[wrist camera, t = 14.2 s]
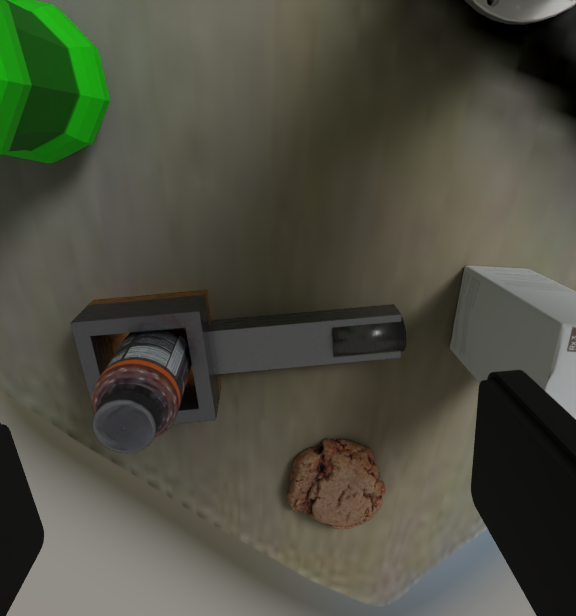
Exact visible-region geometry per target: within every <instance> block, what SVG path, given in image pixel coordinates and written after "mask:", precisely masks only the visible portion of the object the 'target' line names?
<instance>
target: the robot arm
mask: <svg viewBox="0 0 576 616" xmlns="http://www.w3.org/2000/svg"><path fill="white" fill-rule="evenodd" d="M465 1H466V2H467V3H468V4H469V5H470V6H471V7H472V8H474V9H475V10H476V11H477V12H478V13H480V14H482V15H484V16H486V17H487V18H489V19H491V20H494V21H498V22H502V23H505V24H520V25H524V24H530V23H535V22H540V21H543V20H545V19H548V18H551V17H554V16H556V15H558V14H560V13H562V12H564V11H566V10H568V9H570V8H572V7H573V6H574V5H576V0H490V2H491V3H490V5H488V4H487V0H465ZM471 493H472V498H473V502H474V505H475V507H476V509H477V510H478V512H479V514H480V516H481V518H482V519H483V521H484V523H485V525H486V526H487V528H488V530H489V532H490V534H491V535H492V537H493V539H494V541H495V542H496V544H497V546H498V548H499V550H500V551H501V553H502V555H503V556H504V558H505V560H506V562H507V564H508V565H509V567H510V569H511V571H512V572H513V574H514V576H515V578H516V580H517V581H518V583H519V585H520V587H521V589H522V590H523V592H524V594H525V596H526V597H527V599H528V601H529V603H530V605H531V606H532V608H533V610H534V612H535V613H536V615H537V616H576V419H575V418H574V417H573V416H572V415H570V414H569V413H568V412H567V411H566V410H565V409H564V408H563V407H562V406H561V405H560V404H559V403H558V402H556V401H555V400H554V399H553V398H552V397H551V396H550V395H549V394H548V393H547V392H546V391H545V390H543V389H542V388H541V387H540V386H539V385H538V384H537V383H536V382H535V381H534V380H533V379H532V378H531V377H529V376H528V375H527V374H526V373H525V372H524V371H522V370H510V371H499V372H491V373H490V374H489V375H488V377H487V380H482V381H481V382H480V385H479V393H478V405H477V418H476V430H475V443H474V456H473V468H472V481H471ZM43 541H44V530H43V526H42V523H41V520H40V517H39V514H38V511H37V508H36V505H35V502H34V499H33V497H32V494H31V491H30V488H29V485H28V482H27V479H26V476H25V473H24V470H23V467H22V464H21V461H20V458H19V456H18V453H17V450H16V447H15V444H14V441H13V438H12V435H11V432H10V430H9V428H8V427H7V426H6V425H3V424H2V425H1V423H0V616H6V614H7V612H8V611H9V609H10V607H11V605H12V603H13V601H14V599H15V597H16V595H17V593H18V592H19V590H20V588H21V586H22V584H23V582H24V580H25V578H26V577H27V575H28V573H29V571H30V569H31V567H32V565H33V563H34V562H35V560H36V558H37V556H38V554H39V552H40V550H41V548H42V545H43Z"/></svg>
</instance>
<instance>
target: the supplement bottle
mask: <svg viewBox="0 0 576 616" xmlns="http://www.w3.org/2000/svg"><path fill="white" fill-rule="evenodd" d="M191 366H192V363H191V357H190V351H189V345H188V339H187V337H186V336H185V334H184V333H183V332H182V331H180V330H179V329H178V328H176V329H165V330H153V331H142V332H131V333H130V334H129V335H128V336H127V337H126V338H125V340H124V341H123V343H122V344H121V346H120V347H119V349H118V350H117V352H116V353H115V355H114V356H113V358H112V359H111V361H110V362H109V364H108V365H107V367H106V368H105V370H104V371H103V373H102V374H101V376H100V378H99V379H98V381H97V382H96V384H95V387H94V389H93V392H92V398H91V404H92V410H93V413H94V417H93V422H92V427H93V431H94V434H95V436H96V438H97V439H98V440H99V441H100V443H101V444H103V445H104V446H105V447H107V448H109V449H111V450H113V451H116V452H121V453H133V452H137V451H139V450H142V449H144V448H145V447H147V446H148V445H149V444H150V443H151V442H152V440H153V438H154V437H157V436H158V435H160V434H162V433H163V432H165V431H166V430H167V429H168V428H169V427H170V426H171V425H172V423H173V421H174V420H175V418H176V416H177V413H178V409H179V406H180V403H181V400H182V396H183V393H184V389H185V386H186V383H187V379H188V376H189V373H190V370H191Z"/></svg>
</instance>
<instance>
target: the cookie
mask: <svg viewBox="0 0 576 616" xmlns="http://www.w3.org/2000/svg"><path fill="white" fill-rule="evenodd" d="M379 476H380V474H379V472H378V467H377V466H376V465H375V459H374V456H373V453H372V451H371V450H370V449H369V448H367V447H364V446H362V445H360V444H356V443H354V442H351V441H347V440H338V441H337V439H336V440H333V439H331V440H328V439H326V438H325V439H324V440H322V442H321V445H320V446H317V445H315V447H310V448H307V449H305V450H304V451H302V452H301V453H300V454H299V455H298V456H297V457H296V459H295V460H294V462H293V467H292V472H291V474H290V483H289V490H288V493H287V499H288V501H289V503H290V504H291V507H292V509H293V510H294V511H303V512H305V513H306V514H307V515H309V514H310V516H311V517H313V518H314V519H316V520H317V521H319V522H321V523H323V524H329V525H330V526H331V527H333V528H336V529H349V528H353V527H355V526H358V525H361V524H363V523H364V522H366V521H369V520H370V519H371V518H372V517H373V516H374V515H375V514H376V513H377V511H378V510H379V509H380V508H381V505H382V502H383V500H382V495H384V494H385V484H384V482H383V481H379Z"/></svg>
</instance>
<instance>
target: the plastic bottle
mask: <svg viewBox="0 0 576 616" xmlns="http://www.w3.org/2000/svg"><path fill="white" fill-rule="evenodd" d="M109 103H110V97H109V93H108V89H107V84H106V80H105V76H104V71H103V67H102V63H101V58H100V54H99V50H98V49H97V48H96V47H95V46H94V44H93V43H92V42H91V41H90V40H89V39H88V38H87V37H86V36H85V35H84V34H83V33H82V32H81V31H80V30H79V29H78V28H77V27H76V26H75V25H74V23H73V22H72V21H71V20H70V19H69V18H68V17H67V16H66V15H65V14H64V13H63V12H62V11H61V10H60V9H59V8H57V7H55V6H54V5H52V4H48V3H43V2H39V1H35V0H0V156H1V155H7V156H13V157H18V158H23V159H28V160H33V161H38V162H44V163H55V162H57V161H59V160H61V159H63V158H65V157H67V156H69V155H71V154H73V153H75V152H77V151H79V150H81V149H83V148H85V147H86V146H88V145H90V144H92V143H94V140H95V138H96V135H97V133H98V130H99V128H100V125H101V123H102V120H103V118H104V115H105V113H106V110H107V108H108V105H109Z"/></svg>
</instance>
